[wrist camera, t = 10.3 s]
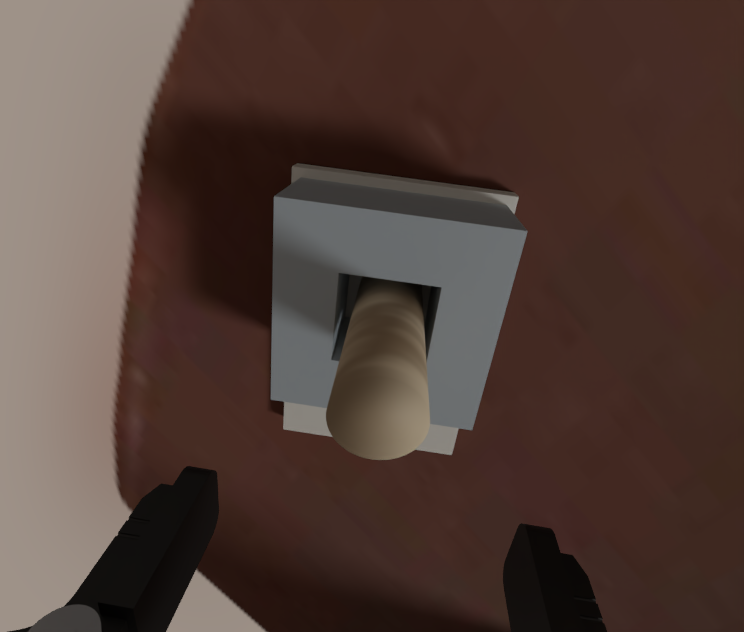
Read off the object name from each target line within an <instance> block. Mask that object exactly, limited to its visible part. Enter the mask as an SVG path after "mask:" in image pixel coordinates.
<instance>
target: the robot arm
mask: <svg viewBox="0 0 744 632" xmlns="http://www.w3.org/2000/svg"><path fill="white" fill-rule="evenodd" d="M218 513H219V504H218V482H217V472H216V471H214V470H208V469H202V468H197V467H191V466H187V467H186V468H184V470H183V471H182V472H181V474H180V475H179V477H178V478H177V480H176V481H175V483H174V485H173V486H172V485H166V484H160V485H159V486H158V487H156V488H155V489H154V490H152V491H151V492H150V493H148V494H147V495H146V496H145V497H143V498H142V499H141V501H140V502H139V504H138V505H137V506H136V508H135V509H134V511H133V512H132V514H131V515H130V516H129V520H128V521H126V522H125V524H124V525H123V526H122V528H121V529H120V531H119V532H118V536H116V537H115V538H114V539H113V541H112V542H111V544H110V545H109V546H108V548H107V549H106V551H105V552H104V553H103V555H102V556H101V558H100V559H99V560H98V562H97V563H96V565H95V566H94V568H93V569H92V570H91V572H90V574H89V575H88V576H87V578H86V579H85V580H84V582H83V583H82V585H81V586H80V588H79V589H78V590H77V592H76V593H75V594H74V596H73V597H72V598H71V600H70V601H69V602H68V603H67V604H66V605H65V606H64V607H62V608H59V609H57V610H55V611H52V612H51V613H49V614H48V615H46V616H44V617H43V618H42V619H40V620H39V621H38V622H37V623H35V625H33V626H31V627H28V628H25V629H20V630H16V631H9V632H166V630H167V628H168V626H169V624H170V622H171V620H172V618H173V616H174V614H175V612H176V610H177V608H178V605H179V603H180V601H181V599H182V597H183V595H184V593H185V591H186V589H187V587H188V585H189V583H190V581H191V579H192V576H193V574H194V572H195V570H196V568H197V566H198V564H199V562H200V560H201V558H202V556H203V554H204V552H205V550H206V548H207V545H208V543H209V541H210V539H211V537H212V535H213V533H214V530H215V527H216V524H217V519H218ZM503 584H504V591H505V597H506V603H507V609H508V615H509V621H510V627H511V632H607V630H606V627H605V624H603V622H602V616H601V613H600V610H599V607H598V604H596V599H595V596H594V593H593V590H592V587H591V584H590V581H589V578H588V576H587V575H586V573H585V572H584V570H583V569H582V568H581V566H580V565H579V563H578V562H577V561H576V559H575V558H574V557H573V555H569V554H563V553H560V550H559V547H558V543H557V540H556V537H555V534H554V532H553V530H552V529H550V528H545V527H540V526H534V525H528V524H520V525H519V526H518V528H517V531H516V534H515V536H514V539H513V541H512V544H511V547H510V549H509V552H508V554H507V557H506V560H505V563H504V570H503Z"/></svg>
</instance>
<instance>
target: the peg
mask: <svg viewBox="0 0 744 632" xmlns="http://www.w3.org/2000/svg"><path fill="white" fill-rule="evenodd" d="M326 422H327V426H328V429H329V431H330V433H331V435H332V436H333V438H334V439H335V440H336V442H337V443H338V444H339V445H341V446H342V447H343V448H344V449H346V450H347V451H349V452H351V453H353V454H355V455H357V456H360V457H363V458H367V459H373V460H388V459H394V458H398V457H401V456H404V455H406V454H408V453H410V452H412V451H413V450H415V449H416V448H417V447H418V446H419V445H420V444H421V443H422V442H423V441H424V439H425V438H426V436H427V434H428V431H429V427H430V410H429V394H428V378H427V363H426V347H425V331H424V315H423V300H422V285H421V284H414V283H407V282H400V281H393V280H386V279H379V278H372V277H365V276H362V278H361V281H360V285H359V289H358V292H357V296H356V300H355V304H354V308H353V311H352V315H351V319H350V323H349V326H348V330H347V334H346V338H345V341H344V345H343V349H342V353H341V357H340V360H339V364H338V368H337V372H336V375H335V379H334V383H333V387H332V390H331V394H330V398H329V402H328V406H327V410H326Z"/></svg>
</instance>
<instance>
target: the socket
mask: <svg viewBox="0 0 744 632" xmlns="http://www.w3.org/2000/svg"><path fill="white" fill-rule="evenodd" d="M518 198H519V197H518V196H517V195H516V194H515V192H508V191H500V190H493V189H485V188H478V187H470V186H463V185H456V184H448V183H441V182H433V181H426V180H419V179H411V178H404V177H396V176H389V175H381V174H374V173H367V172H359V171H352V170H344V169H337V168H330V167H322V166H315V165H307V164H300V163H297V164H295V165H293V166H292V179H291V185H289V186H288V187H286V188H285V189H283V190H282V191H281V192H279V193H278V194H276V195H275V196H274V220H273V284H272V348H271V400H276V401H283V402H284V425H283V429H285V430H292V431H298V432H305V433H311V434H318V435H324V436H331V437H333V436H332V435H331V433H330V431H329V429H328V426H327V422H326V410H327V406H328V402H329V398H330V394H331V390H332V387H333V383H334V379H335V375H336V372H337V368H338V364H339V360H340V357H341V353H342V349H343V345H344V341H345V338H346V334H347V330H348V326H349V323H350V319H351V315H352V311H353V308H354V304H355V300H356V296H357V292H358V289H359V285H360V281H361V278H362V276H365V277H372V278H379V279H386V280H393V281H400V282H407V283H414V284H421V285H422V300H423V315H424V331H425V347H426V363H427V378H428V394H429V410H430V427H429V431H428V434H427V436H426V438H425V439H424V441H423V442H422V443H421V444H420V445H419V446H418V447H417V448H416V449H415V450H422V451H428V452H435V453H441V454H448V455H452V452H453V448H454V444H455V440H456V437H457V433H458V429H459V428H460V429H467V430H472V429H473V425H474V422H475V418H476V414H477V411H478V407H479V404H480V400H481V397H482V393H483V389H484V386H485V382H486V379H487V375H488V371H489V368H490V364H491V361H492V357H493V353H494V350H495V346H496V343H497V339H498V335H499V332H500V328H501V325H502V321H503V318H504V314H505V310H506V307H507V303H508V300H509V296H510V292H511V289H512V285H513V282H514V278H515V274H516V271H517V267H518V264H519V260H520V256H521V253H522V249H523V246H524V242H525V239H526V235H527V230H526V229H525V227H524V226H523V225H522V224H521V222H520V221H519V220H518V219H517V217H516V216H515V215H514V214H515V210H516V206H517V202H518Z"/></svg>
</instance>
